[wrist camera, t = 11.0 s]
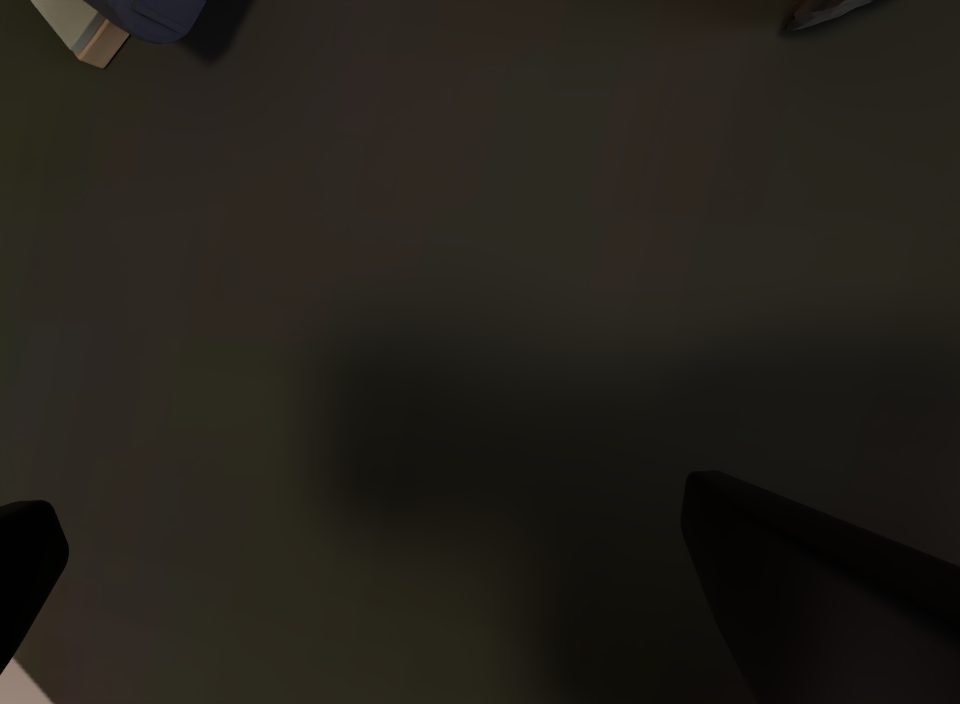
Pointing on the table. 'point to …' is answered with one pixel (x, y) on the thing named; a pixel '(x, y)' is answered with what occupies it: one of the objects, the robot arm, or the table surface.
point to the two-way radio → (151, 17)
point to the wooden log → (817, 12)
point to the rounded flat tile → (83, 30)
